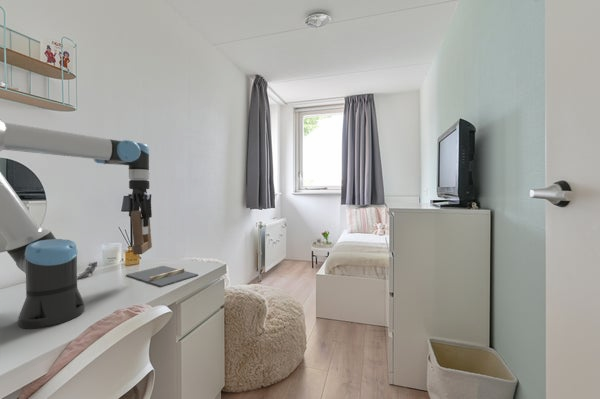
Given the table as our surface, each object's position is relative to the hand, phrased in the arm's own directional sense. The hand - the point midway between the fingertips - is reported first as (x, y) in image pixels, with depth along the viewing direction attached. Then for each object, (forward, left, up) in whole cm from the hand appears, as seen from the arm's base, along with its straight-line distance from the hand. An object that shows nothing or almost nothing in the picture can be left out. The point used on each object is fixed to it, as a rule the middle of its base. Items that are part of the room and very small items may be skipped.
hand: (140, 233), depth 116 cm
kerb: (+10, -4, -21) cm, 24 cm away
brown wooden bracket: (+1, 0, -8) cm, 8 cm away
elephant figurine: (-8, +29, -21) cm, 37 cm away
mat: (+10, +1, -21) cm, 23 cm away
